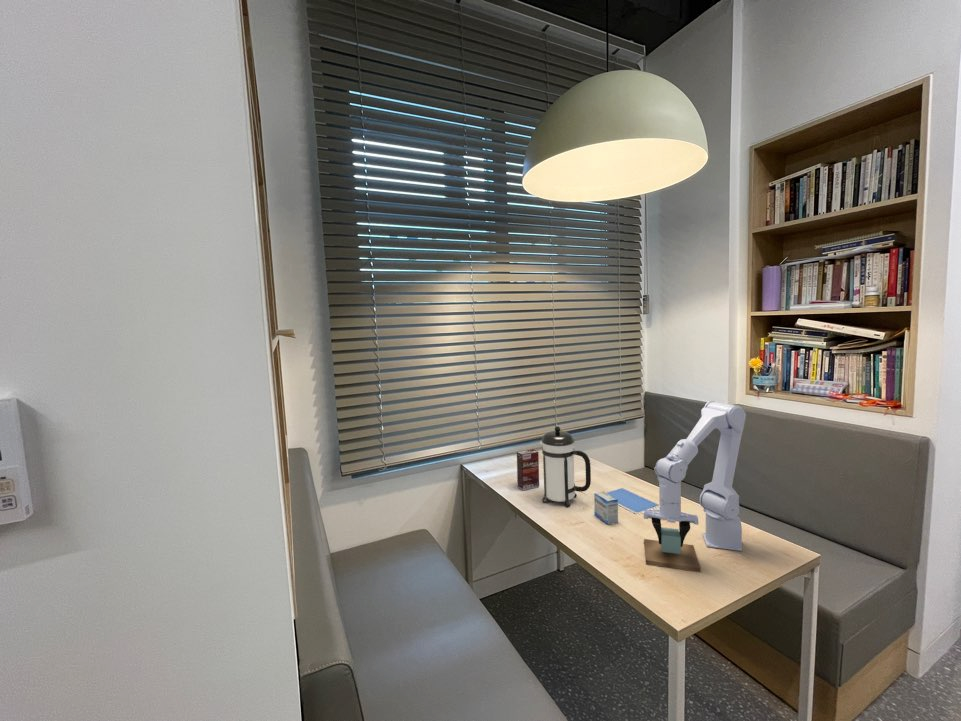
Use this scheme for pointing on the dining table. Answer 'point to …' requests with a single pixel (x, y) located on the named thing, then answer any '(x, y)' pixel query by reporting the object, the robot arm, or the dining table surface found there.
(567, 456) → the coffee press
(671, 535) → the teal cube
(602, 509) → the medicine box
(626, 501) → the tablet computer
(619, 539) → the dining table surface
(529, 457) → the supplement box
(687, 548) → the walnut board
